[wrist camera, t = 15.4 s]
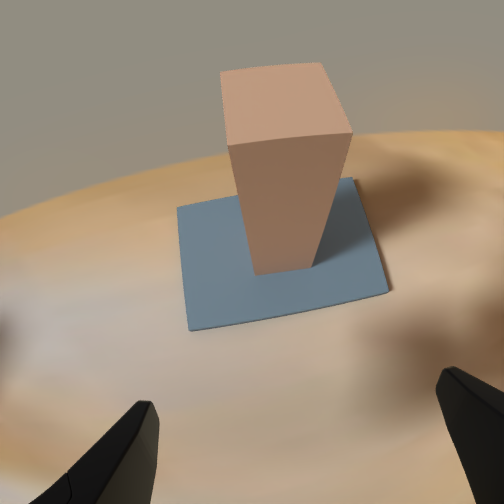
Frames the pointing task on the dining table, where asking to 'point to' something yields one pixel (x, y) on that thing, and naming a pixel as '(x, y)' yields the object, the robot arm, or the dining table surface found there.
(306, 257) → the block
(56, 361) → the dining table surface
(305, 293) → the mat
